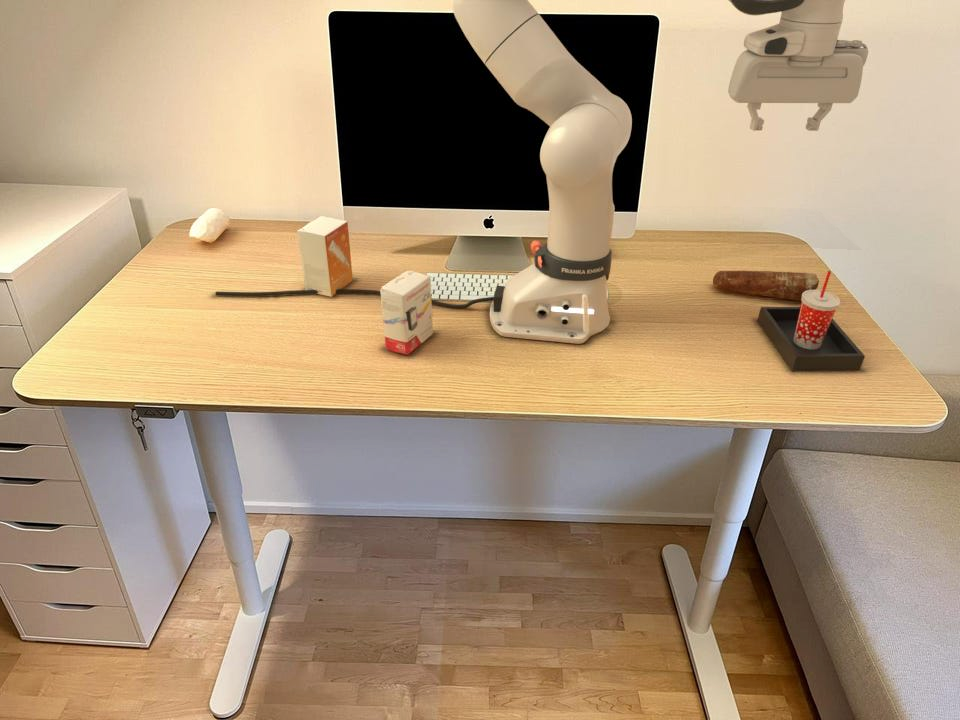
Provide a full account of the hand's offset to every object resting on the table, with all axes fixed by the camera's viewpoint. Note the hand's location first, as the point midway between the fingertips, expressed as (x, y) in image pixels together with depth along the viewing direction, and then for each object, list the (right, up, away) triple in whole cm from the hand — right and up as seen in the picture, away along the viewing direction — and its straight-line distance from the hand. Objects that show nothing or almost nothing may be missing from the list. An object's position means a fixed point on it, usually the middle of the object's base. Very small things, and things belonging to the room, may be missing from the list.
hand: (783, 129), depth 118 cm
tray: (+8, -35, +8) cm, 37 cm away
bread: (+6, -26, +24) cm, 35 cm away
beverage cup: (+8, -35, +8) cm, 37 cm away
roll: (-111, -12, +42) cm, 120 cm away
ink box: (-63, -35, +8) cm, 73 cm away
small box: (-81, -24, +25) cm, 88 cm away
